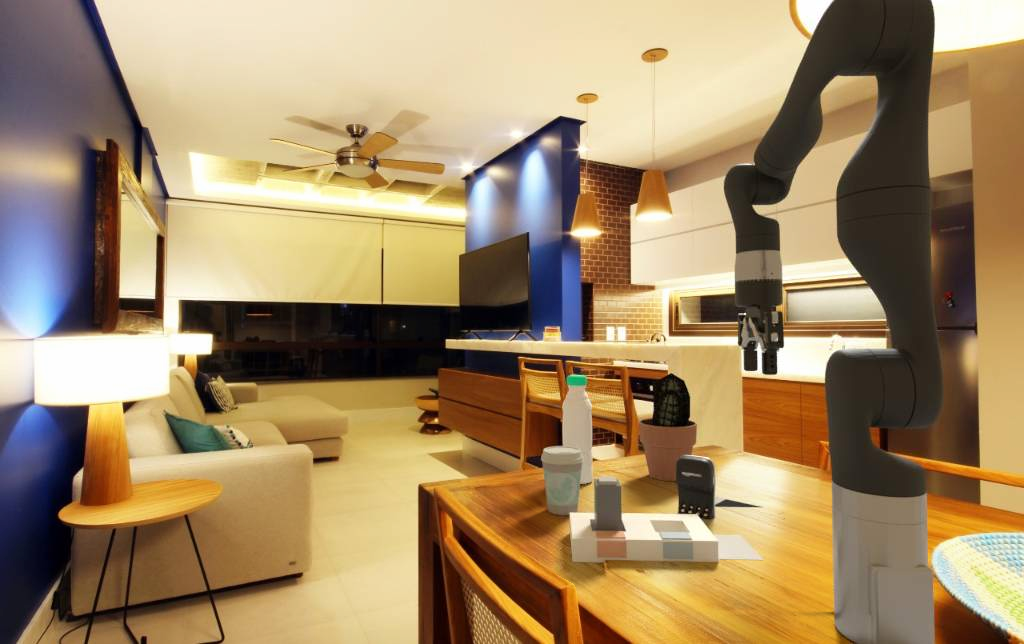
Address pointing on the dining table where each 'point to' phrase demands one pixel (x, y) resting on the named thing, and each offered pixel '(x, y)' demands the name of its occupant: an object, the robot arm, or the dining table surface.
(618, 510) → the plug
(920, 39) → the robot arm
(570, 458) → the coffee cup
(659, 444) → the potted plant
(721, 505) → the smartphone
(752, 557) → the mat
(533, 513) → the dining table surface
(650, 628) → the dining table surface
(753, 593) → the dining table surface
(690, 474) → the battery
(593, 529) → the dock
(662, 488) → the dining table surface
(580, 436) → the water bottle
